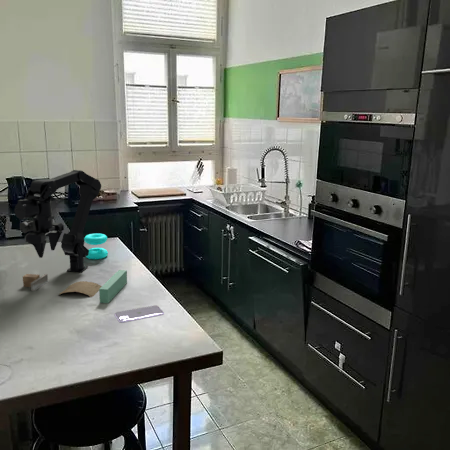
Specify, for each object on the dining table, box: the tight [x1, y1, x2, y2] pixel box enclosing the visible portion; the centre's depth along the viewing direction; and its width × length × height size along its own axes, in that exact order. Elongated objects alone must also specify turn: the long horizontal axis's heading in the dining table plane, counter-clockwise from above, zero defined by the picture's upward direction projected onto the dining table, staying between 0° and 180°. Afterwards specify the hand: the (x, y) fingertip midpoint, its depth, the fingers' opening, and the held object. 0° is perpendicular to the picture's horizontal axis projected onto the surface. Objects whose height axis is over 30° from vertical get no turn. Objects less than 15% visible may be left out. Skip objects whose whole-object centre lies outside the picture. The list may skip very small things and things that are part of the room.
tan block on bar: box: [22, 273, 49, 292], centre depth 171 cm, size 6×10×4 cm, turn 173°
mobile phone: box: [114, 304, 165, 323], centre depth 149 cm, size 8×1×15 cm
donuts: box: [84, 232, 109, 260], centre depth 205 cm, size 10×10×10 cm
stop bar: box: [98, 269, 128, 304], centre depth 166 cm, size 20×3×5 cm, turn 173°
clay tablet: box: [59, 280, 103, 298], centre depth 166 cm, size 14×10×3 cm
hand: (47, 253), depth 174 cm, fingers open, 9 cm apart
